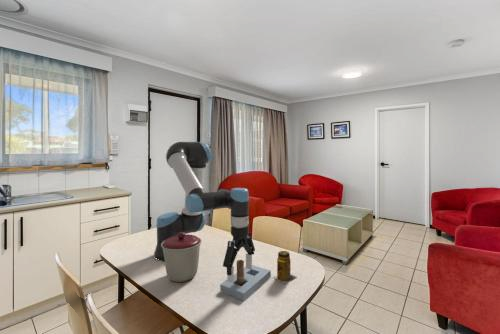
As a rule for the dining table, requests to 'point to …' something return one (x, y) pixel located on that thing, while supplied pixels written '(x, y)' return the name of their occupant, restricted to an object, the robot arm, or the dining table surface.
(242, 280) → the peg
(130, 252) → the dining table surface
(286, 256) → the condiment
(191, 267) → the canister
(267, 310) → the dining table surface
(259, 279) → the hole block
